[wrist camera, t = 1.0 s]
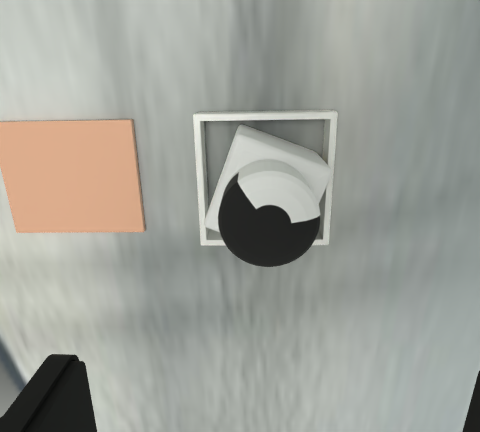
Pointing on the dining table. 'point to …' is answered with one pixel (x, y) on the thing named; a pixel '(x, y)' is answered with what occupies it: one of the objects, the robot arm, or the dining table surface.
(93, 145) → the coaster
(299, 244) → the medicine bottle
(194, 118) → the parts bin
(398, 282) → the dining table surface
